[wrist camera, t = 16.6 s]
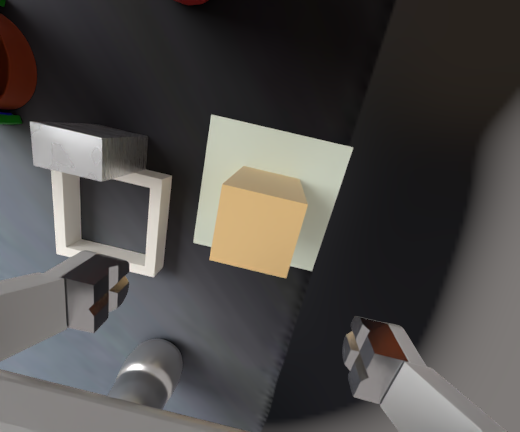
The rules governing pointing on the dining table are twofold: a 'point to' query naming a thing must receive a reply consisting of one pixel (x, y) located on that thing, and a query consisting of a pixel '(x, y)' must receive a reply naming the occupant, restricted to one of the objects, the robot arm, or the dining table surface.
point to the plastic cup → (191, 2)
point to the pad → (276, 161)
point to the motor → (14, 70)
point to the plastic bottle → (149, 374)
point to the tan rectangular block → (258, 221)
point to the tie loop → (101, 169)
